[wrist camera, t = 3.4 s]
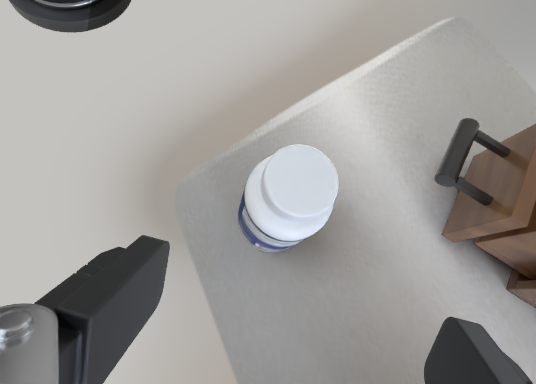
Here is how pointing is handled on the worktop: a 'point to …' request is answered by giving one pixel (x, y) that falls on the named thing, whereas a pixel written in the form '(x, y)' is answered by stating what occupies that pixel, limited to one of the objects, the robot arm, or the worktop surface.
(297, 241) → the pill bottle
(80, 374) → the robot arm
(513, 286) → the cabinet
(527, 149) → the drawer
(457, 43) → the worktop surface
